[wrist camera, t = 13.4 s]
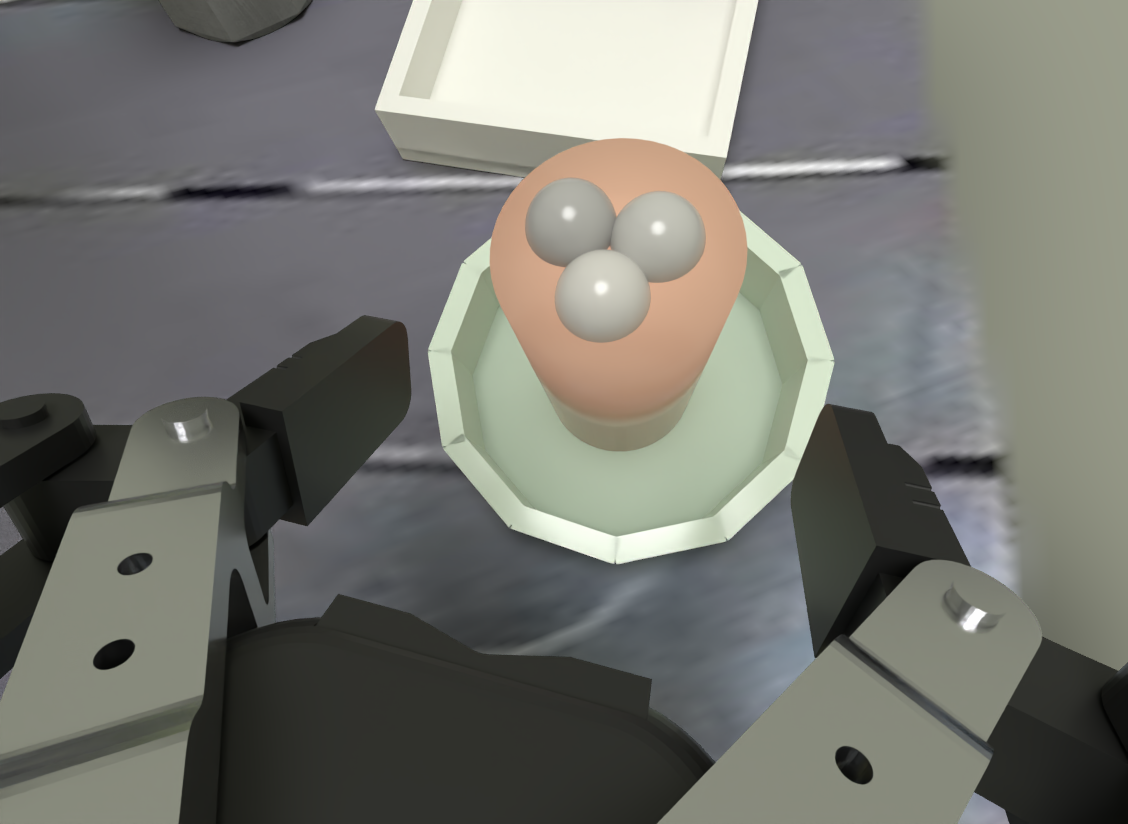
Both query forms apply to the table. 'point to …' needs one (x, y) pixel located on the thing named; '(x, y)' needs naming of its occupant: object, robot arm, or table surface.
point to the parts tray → (564, 78)
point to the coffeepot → (232, 17)
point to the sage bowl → (656, 472)
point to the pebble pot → (619, 283)
